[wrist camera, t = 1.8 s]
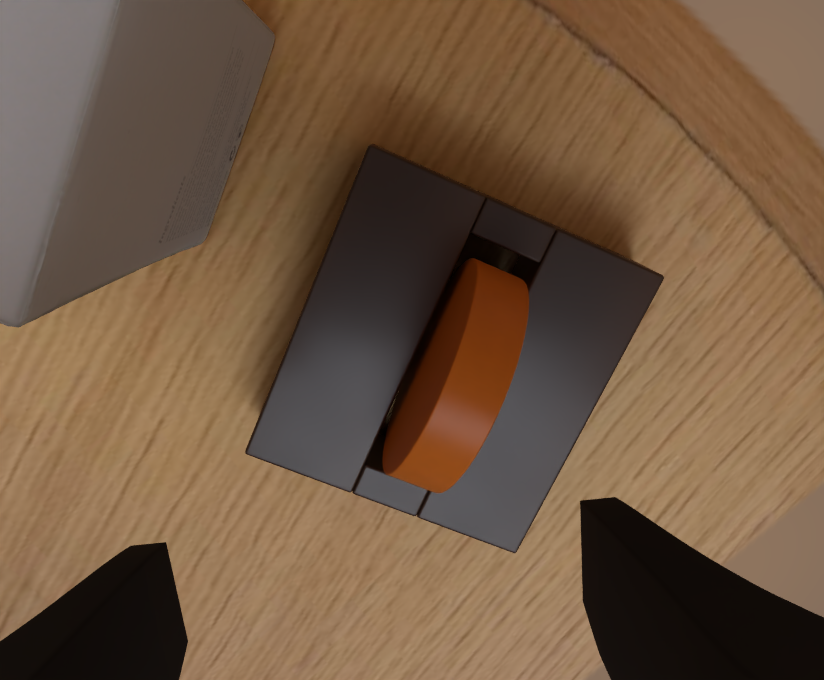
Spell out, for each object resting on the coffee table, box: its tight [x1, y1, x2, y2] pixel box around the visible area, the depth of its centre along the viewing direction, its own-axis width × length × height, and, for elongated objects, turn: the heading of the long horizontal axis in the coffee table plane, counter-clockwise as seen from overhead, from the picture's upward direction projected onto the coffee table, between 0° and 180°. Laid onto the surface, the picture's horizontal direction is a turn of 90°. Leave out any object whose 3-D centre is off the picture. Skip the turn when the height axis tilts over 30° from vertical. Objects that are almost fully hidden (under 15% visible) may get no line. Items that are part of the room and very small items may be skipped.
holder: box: [245, 144, 664, 553], centre depth 20 cm, size 8×9×2 cm
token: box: [382, 258, 529, 493], centre depth 18 cm, size 1×6×6 cm, turn 157°
